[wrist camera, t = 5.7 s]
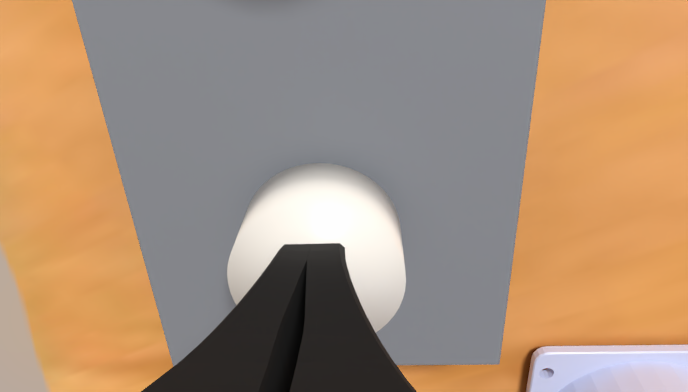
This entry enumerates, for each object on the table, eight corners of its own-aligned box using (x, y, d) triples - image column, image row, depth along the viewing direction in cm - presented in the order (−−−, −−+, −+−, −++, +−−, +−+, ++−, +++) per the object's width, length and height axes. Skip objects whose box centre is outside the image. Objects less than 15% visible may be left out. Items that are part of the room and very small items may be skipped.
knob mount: (480, 299, 19) (499, 364, 16) (199, 303, 19) (173, 366, 17) (568, -617, 9) (651, -826, 7) (3, -560, 10) (-131, -731, 7)
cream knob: (394, 233, 17) (405, 347, 13) (271, 236, 17) (240, 349, 13) (394, 116, 15) (406, 202, 11) (256, 120, 15) (213, 207, 11)
